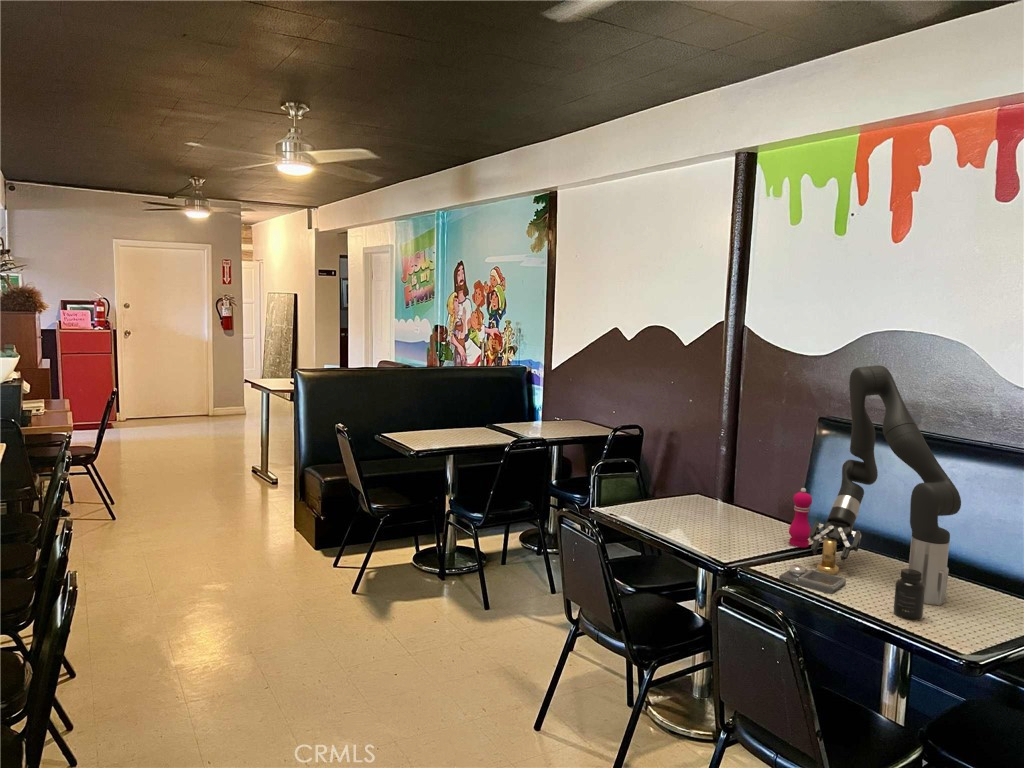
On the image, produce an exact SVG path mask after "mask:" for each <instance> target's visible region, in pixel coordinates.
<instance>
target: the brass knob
mask: <svg viewBox="0 0 1024 768" xmlns="http://www.w3.org/2000/svg"><path fill="white" fill-rule="evenodd" d="M822 543H823V544H822V553H821V562H818V563H817V566H816V571H820V572H823V573H827V574H831V575H835V576H838V575H839V570H840V569H839V568H840V567H839V566H838V565H836V558H837V557H836V556H837V546H838V545H837V544H838V542H837V541H836V540H833V539H824V540H823V541H822Z"/></svg>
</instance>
